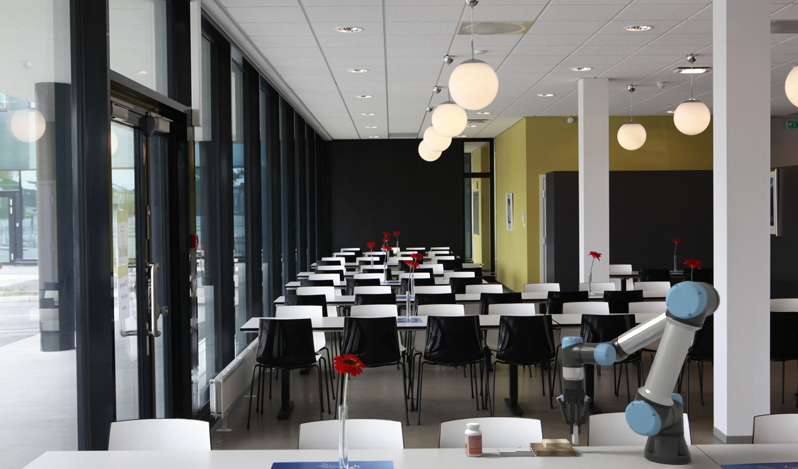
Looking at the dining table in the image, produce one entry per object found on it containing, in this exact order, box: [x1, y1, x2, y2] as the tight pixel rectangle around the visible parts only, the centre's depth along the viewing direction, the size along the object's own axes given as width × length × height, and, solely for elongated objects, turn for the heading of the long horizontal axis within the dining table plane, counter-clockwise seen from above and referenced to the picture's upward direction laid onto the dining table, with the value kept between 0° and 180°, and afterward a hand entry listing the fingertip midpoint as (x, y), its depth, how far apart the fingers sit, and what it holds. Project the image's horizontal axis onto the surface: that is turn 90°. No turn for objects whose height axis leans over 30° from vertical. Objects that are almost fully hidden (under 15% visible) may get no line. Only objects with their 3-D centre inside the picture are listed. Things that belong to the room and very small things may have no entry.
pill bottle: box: [464, 422, 483, 458], centre depth 222 cm, size 6×6×11 cm
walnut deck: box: [529, 442, 577, 457], centre depth 224 cm, size 14×12×2 cm
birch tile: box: [541, 438, 572, 449], centre depth 224 cm, size 9×6×2 cm, turn 89°
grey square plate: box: [499, 446, 536, 458], centre depth 224 cm, size 12×12×1 cm
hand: (575, 443), depth 224 cm, fingers closed
